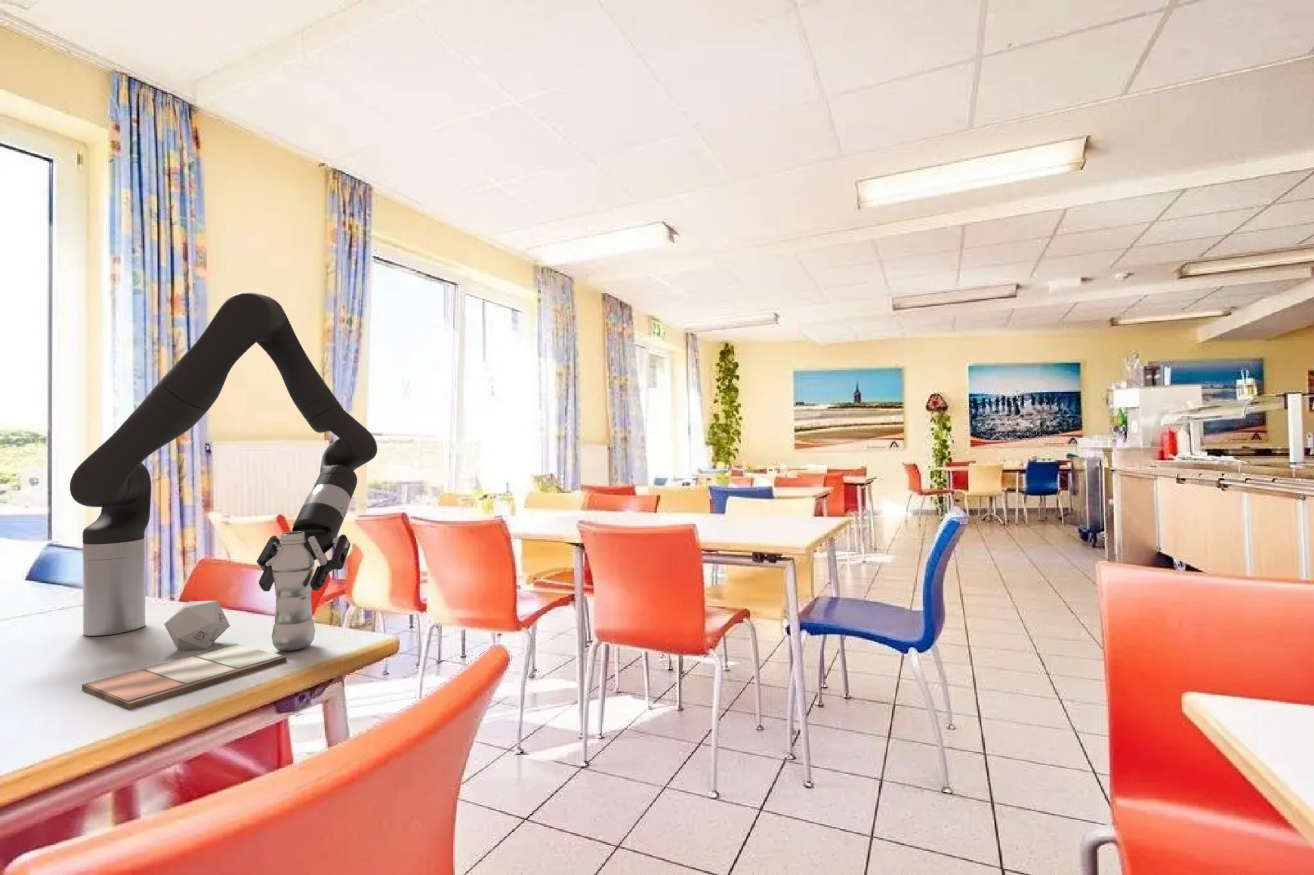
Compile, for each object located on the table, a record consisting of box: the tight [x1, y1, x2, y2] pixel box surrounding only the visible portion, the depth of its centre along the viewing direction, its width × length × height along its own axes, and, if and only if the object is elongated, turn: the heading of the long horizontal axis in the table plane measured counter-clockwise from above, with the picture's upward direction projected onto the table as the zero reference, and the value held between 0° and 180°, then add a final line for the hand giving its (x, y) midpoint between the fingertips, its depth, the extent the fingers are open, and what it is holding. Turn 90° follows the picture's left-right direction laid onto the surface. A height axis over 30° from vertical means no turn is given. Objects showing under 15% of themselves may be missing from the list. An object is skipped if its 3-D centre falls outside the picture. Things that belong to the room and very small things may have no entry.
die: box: [163, 600, 231, 651], centre depth 113 cm, size 8×9×10 cm
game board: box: [81, 643, 287, 710], centre depth 98 cm, size 15×21×1 cm
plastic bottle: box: [271, 531, 316, 652], centre depth 110 cm, size 6×7×20 cm
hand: (289, 588), depth 109 cm, fingers open, 8 cm apart
